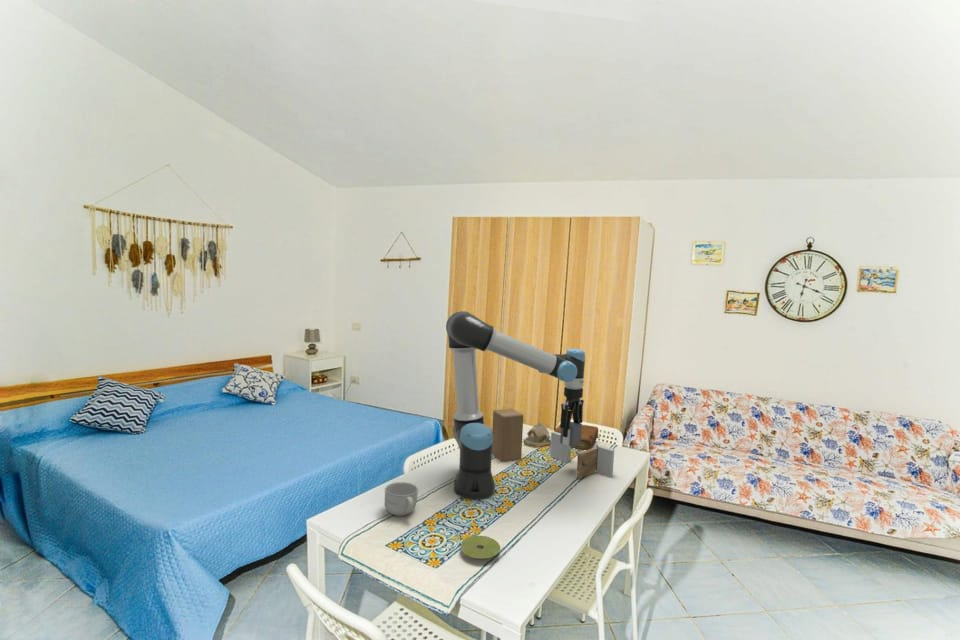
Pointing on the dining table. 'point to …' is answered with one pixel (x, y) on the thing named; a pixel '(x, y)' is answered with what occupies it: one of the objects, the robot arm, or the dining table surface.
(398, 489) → the teacup
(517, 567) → the dining table surface
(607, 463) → the door frame
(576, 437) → the block
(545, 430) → the ceramic model
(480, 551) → the olive green disc
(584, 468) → the door
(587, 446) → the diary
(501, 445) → the wooden block
